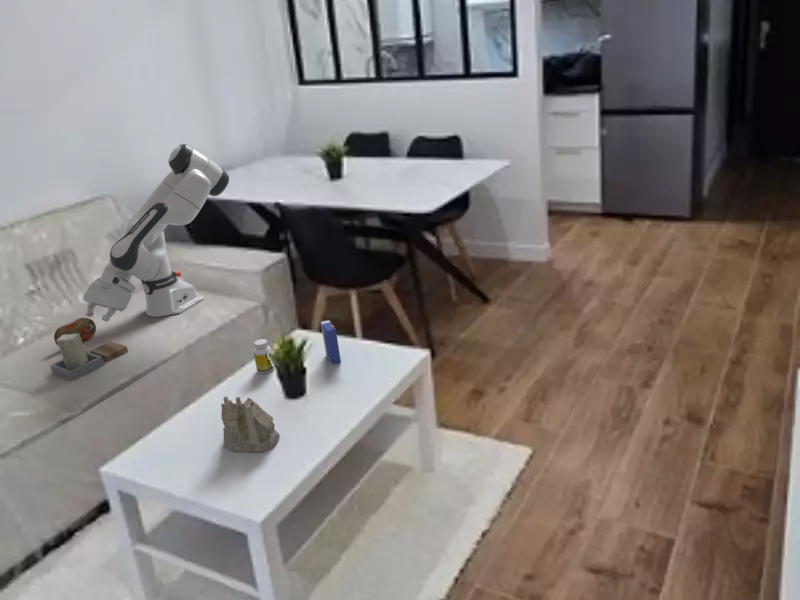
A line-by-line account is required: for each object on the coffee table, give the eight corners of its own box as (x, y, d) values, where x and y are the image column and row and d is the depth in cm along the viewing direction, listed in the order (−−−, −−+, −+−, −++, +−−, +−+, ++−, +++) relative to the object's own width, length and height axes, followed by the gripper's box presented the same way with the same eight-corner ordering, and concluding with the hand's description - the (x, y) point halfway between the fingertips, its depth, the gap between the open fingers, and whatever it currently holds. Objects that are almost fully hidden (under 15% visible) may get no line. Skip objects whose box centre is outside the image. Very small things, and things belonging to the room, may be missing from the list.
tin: (61, 352, 262) (54, 331, 259) (56, 351, 264) (49, 329, 260) (99, 335, 273) (92, 314, 269) (94, 334, 274) (88, 313, 271)
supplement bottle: (271, 374, 229) (265, 345, 226) (254, 374, 231) (248, 346, 227) (277, 365, 234) (271, 337, 230) (261, 365, 235) (255, 338, 232)
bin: (84, 357, 256) (82, 350, 254) (104, 364, 249) (102, 356, 248) (52, 373, 247) (49, 365, 246) (72, 381, 240) (69, 372, 239)
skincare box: (90, 365, 250) (80, 332, 245) (84, 371, 245) (73, 338, 241) (73, 366, 250) (62, 334, 246) (66, 372, 246) (55, 340, 242)
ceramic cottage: (266, 456, 188) (255, 403, 183) (212, 451, 194) (200, 399, 189) (295, 426, 202) (286, 375, 197) (244, 422, 208) (233, 373, 203)
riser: (111, 346, 262) (110, 341, 261) (128, 351, 256) (126, 346, 256) (91, 355, 256) (89, 350, 256) (108, 361, 251) (106, 356, 250)
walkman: (341, 362, 231) (335, 327, 227) (332, 364, 231) (326, 329, 226) (334, 352, 238) (328, 318, 234) (325, 354, 238) (320, 320, 233)
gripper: (89, 273, 257) (71, 310, 253) (124, 281, 245) (106, 319, 242) (103, 280, 262) (86, 317, 258) (138, 288, 250) (121, 326, 246)
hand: (96, 318), depth 250 cm, fingers open, 8 cm apart
